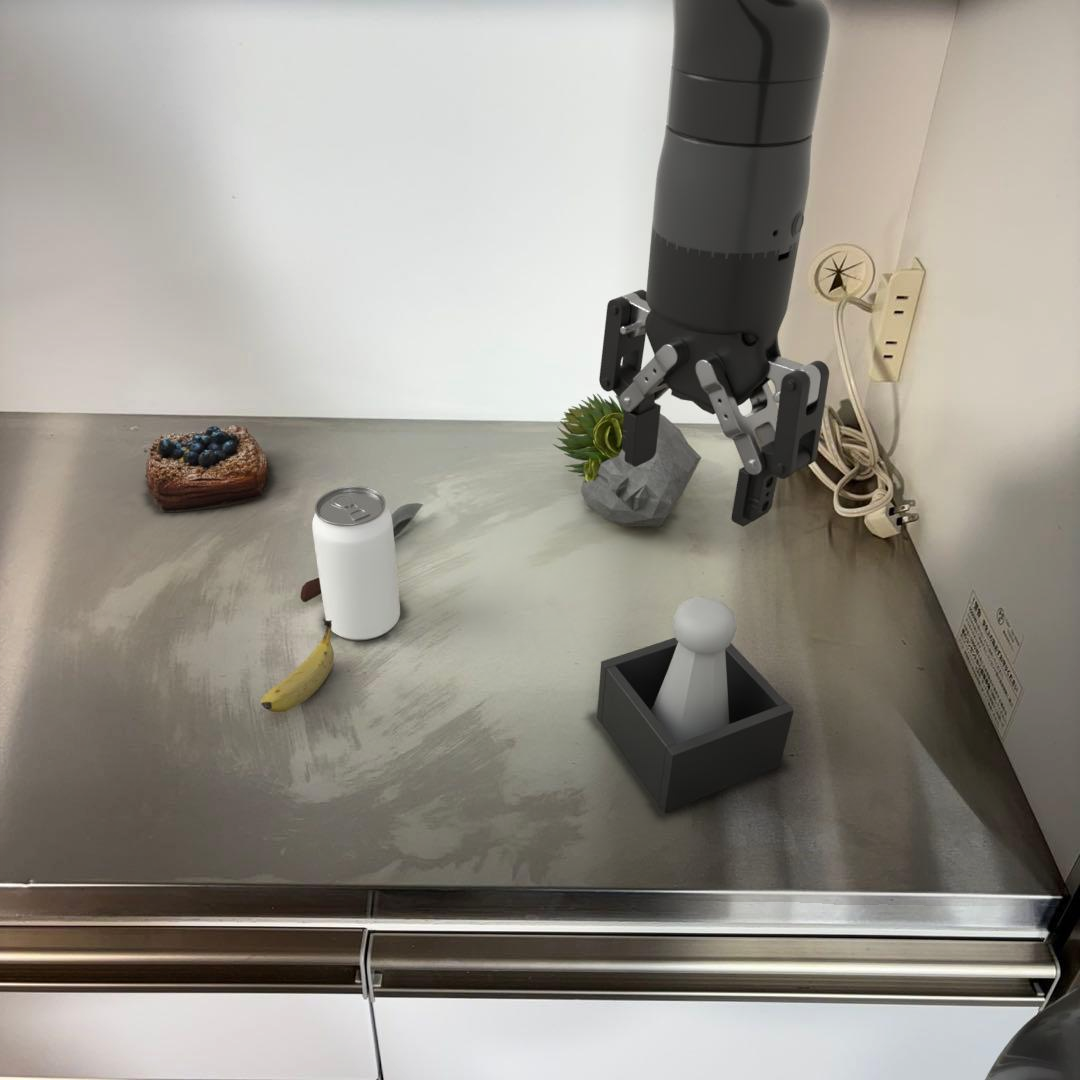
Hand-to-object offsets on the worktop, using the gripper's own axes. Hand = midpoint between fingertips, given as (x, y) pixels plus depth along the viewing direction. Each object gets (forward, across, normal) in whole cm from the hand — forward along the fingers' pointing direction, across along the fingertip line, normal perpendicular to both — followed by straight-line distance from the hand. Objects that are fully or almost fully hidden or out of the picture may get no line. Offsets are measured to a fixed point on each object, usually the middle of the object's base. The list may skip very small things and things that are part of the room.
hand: (691, 489), depth 59 cm
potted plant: (+24, -25, +22) cm, 41 cm away
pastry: (+24, -57, -8) cm, 62 cm away
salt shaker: (+24, +1, +3) cm, 24 cm away
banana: (+24, -23, -16) cm, 37 cm away
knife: (+24, -34, -3) cm, 42 cm away
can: (+24, -28, -8) cm, 37 cm away
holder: (+24, +1, +3) cm, 24 cm away
